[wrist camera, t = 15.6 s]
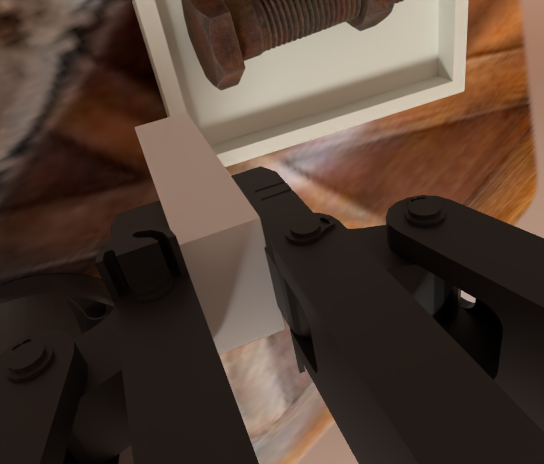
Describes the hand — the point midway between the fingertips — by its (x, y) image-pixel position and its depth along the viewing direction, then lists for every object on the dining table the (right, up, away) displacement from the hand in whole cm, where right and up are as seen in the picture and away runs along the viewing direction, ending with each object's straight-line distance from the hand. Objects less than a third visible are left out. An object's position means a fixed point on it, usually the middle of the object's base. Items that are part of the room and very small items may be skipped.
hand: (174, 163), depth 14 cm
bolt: (+5, +13, +16) cm, 21 cm away
